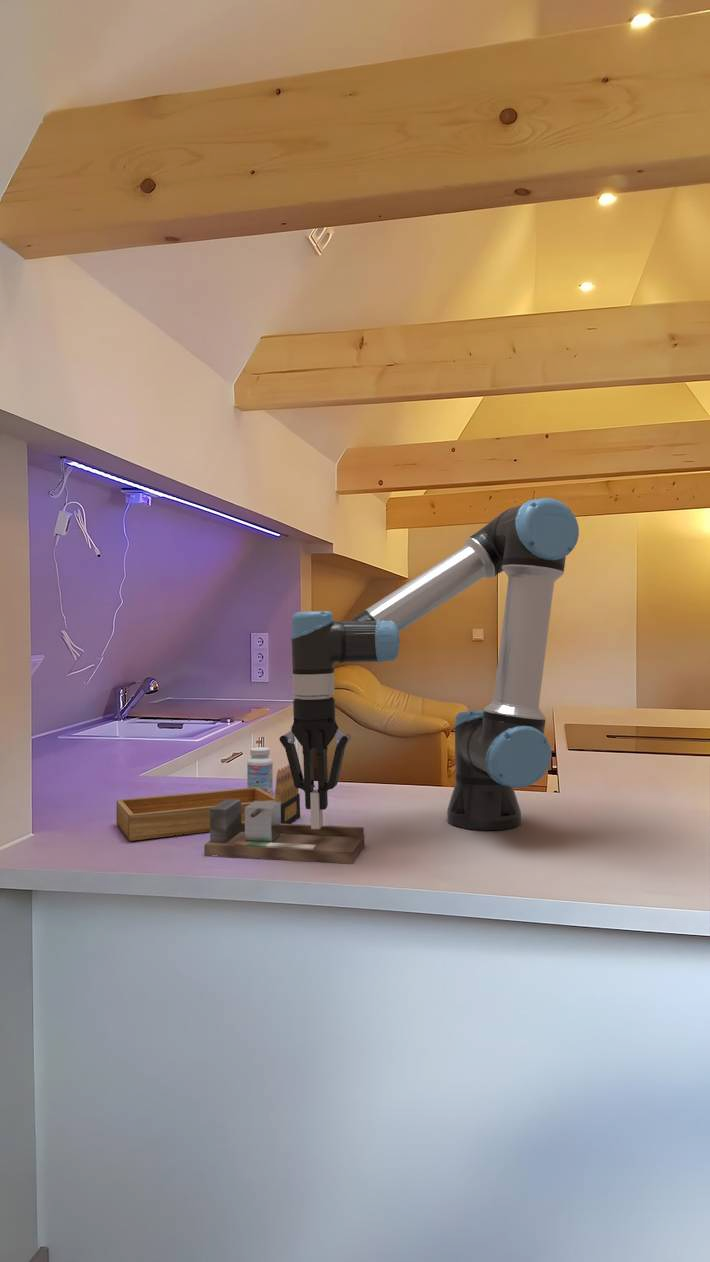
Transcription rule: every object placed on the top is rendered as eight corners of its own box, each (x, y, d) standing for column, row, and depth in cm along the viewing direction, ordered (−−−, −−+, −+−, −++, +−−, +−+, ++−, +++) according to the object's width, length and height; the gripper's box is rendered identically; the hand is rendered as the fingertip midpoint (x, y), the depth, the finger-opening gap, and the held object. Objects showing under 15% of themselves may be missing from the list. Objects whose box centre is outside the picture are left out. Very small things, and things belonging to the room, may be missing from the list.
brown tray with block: (364, 845, 144) (364, 802, 144) (352, 863, 133) (351, 817, 133) (227, 838, 150) (226, 797, 149) (204, 855, 139) (204, 810, 139)
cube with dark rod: (280, 833, 144) (280, 801, 144) (266, 847, 136) (265, 812, 136) (255, 832, 146) (254, 800, 145) (239, 845, 137) (238, 811, 137)
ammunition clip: (282, 830, 156) (281, 770, 156) (273, 829, 156) (272, 769, 156) (300, 817, 166) (299, 761, 166) (292, 816, 167) (291, 760, 166)
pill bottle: (244, 797, 185) (243, 750, 185) (251, 792, 191) (251, 746, 191) (268, 798, 184) (268, 750, 184) (275, 792, 190) (275, 746, 190)
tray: (257, 810, 174) (257, 784, 174) (281, 825, 161) (281, 798, 161) (116, 827, 161) (116, 799, 161) (129, 845, 147) (129, 815, 147)
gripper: (353, 694, 142) (356, 822, 143) (285, 694, 145) (288, 820, 145) (344, 698, 135) (347, 834, 135) (272, 699, 138) (276, 831, 138)
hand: (317, 827), depth 140 cm, fingers closed
